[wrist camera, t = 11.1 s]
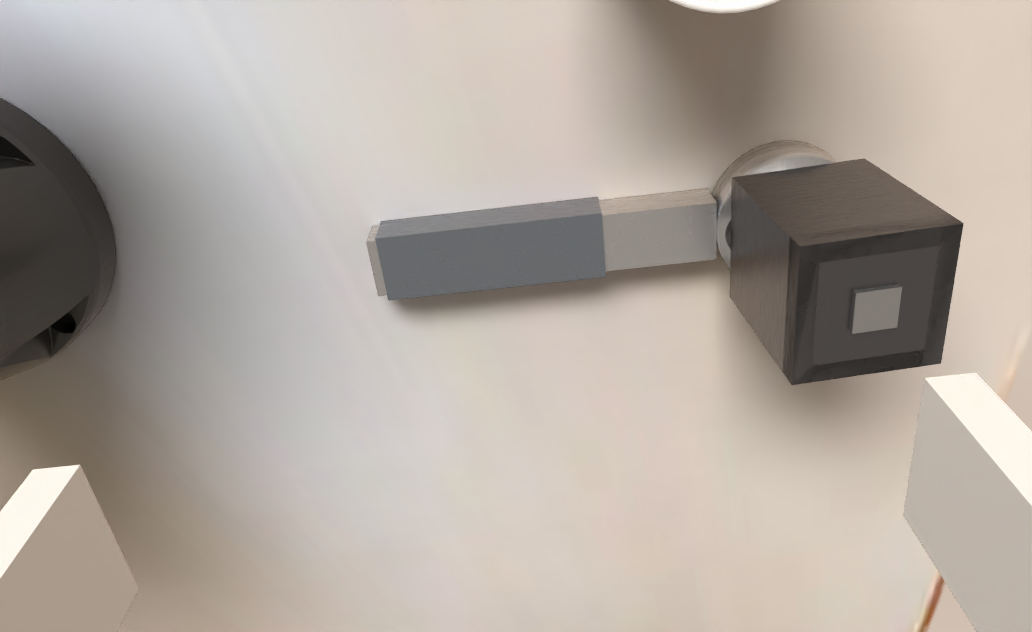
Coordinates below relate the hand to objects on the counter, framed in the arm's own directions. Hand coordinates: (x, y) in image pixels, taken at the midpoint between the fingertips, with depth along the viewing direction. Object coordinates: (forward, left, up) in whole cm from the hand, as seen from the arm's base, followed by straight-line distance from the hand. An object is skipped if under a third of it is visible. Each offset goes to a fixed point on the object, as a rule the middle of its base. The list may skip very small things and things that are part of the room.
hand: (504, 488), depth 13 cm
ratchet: (+4, -8, -28) cm, 30 cm away
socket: (+13, -8, -26) cm, 30 cm away
